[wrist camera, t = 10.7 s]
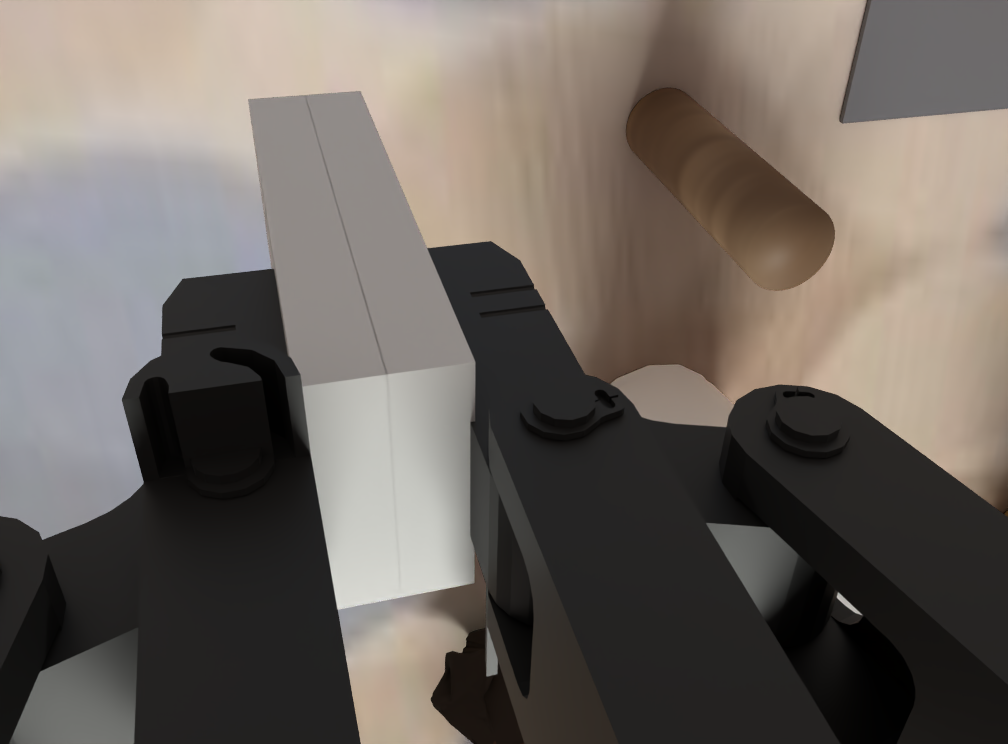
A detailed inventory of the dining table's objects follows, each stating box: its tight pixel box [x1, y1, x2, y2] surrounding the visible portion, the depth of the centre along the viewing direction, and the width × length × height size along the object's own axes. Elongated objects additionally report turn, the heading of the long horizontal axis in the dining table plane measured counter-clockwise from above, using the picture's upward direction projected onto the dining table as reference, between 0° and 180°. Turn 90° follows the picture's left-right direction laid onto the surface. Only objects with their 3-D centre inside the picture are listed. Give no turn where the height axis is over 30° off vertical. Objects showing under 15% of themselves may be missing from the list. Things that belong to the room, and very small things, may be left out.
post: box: [626, 88, 835, 291], centre depth 30 cm, size 3×3×9 cm
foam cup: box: [610, 364, 862, 615], centre depth 36 cm, size 10×9×13 cm
